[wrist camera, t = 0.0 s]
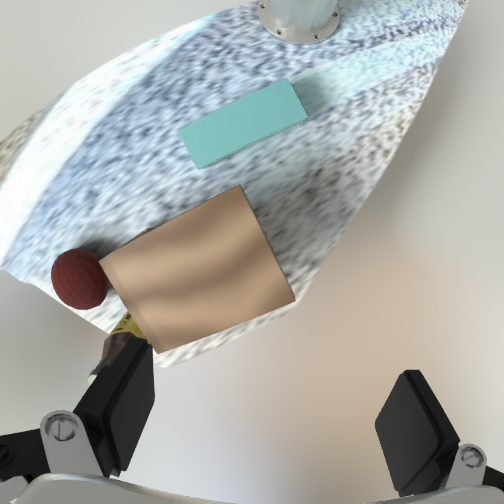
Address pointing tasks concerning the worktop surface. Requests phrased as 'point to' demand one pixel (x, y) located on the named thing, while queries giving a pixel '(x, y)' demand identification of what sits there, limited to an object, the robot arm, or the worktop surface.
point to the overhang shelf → (199, 273)
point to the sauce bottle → (117, 342)
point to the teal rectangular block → (243, 123)
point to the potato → (79, 279)
